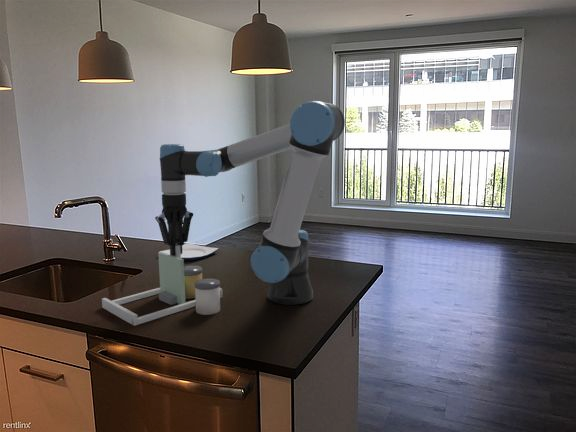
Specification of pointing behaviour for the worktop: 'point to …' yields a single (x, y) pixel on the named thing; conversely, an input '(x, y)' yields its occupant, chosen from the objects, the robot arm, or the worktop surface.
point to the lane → (134, 320)
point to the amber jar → (191, 280)
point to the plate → (194, 251)
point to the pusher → (171, 279)
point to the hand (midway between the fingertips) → (176, 264)
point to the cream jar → (207, 296)
